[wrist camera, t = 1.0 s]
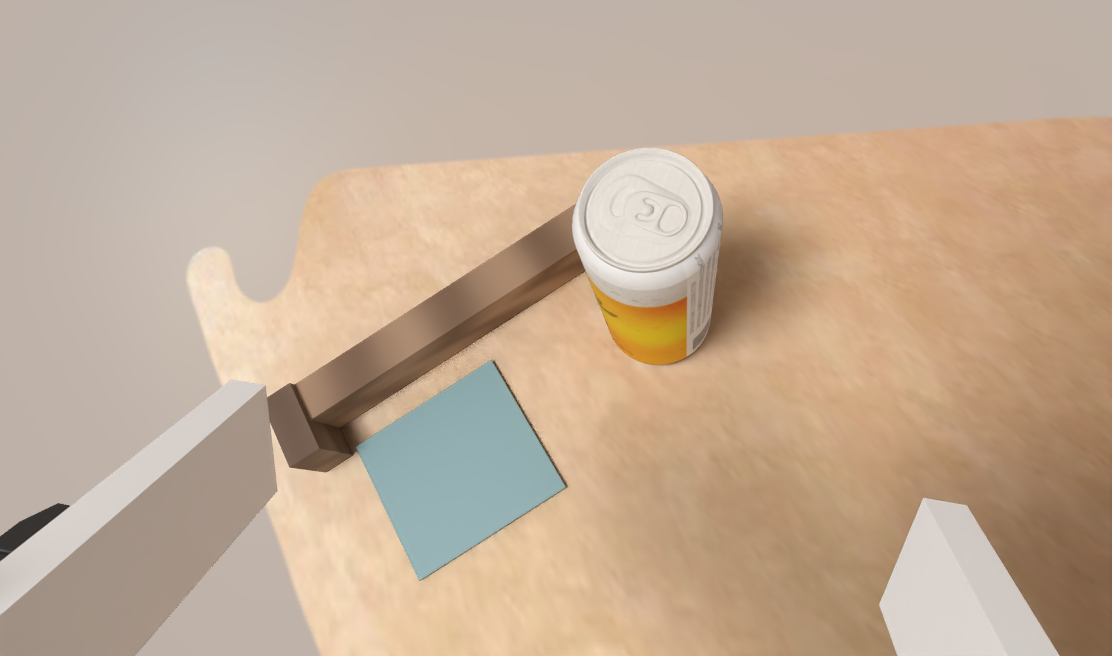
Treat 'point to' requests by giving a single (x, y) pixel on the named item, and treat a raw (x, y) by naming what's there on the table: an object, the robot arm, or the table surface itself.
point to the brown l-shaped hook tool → (418, 344)
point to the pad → (458, 469)
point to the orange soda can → (651, 251)
